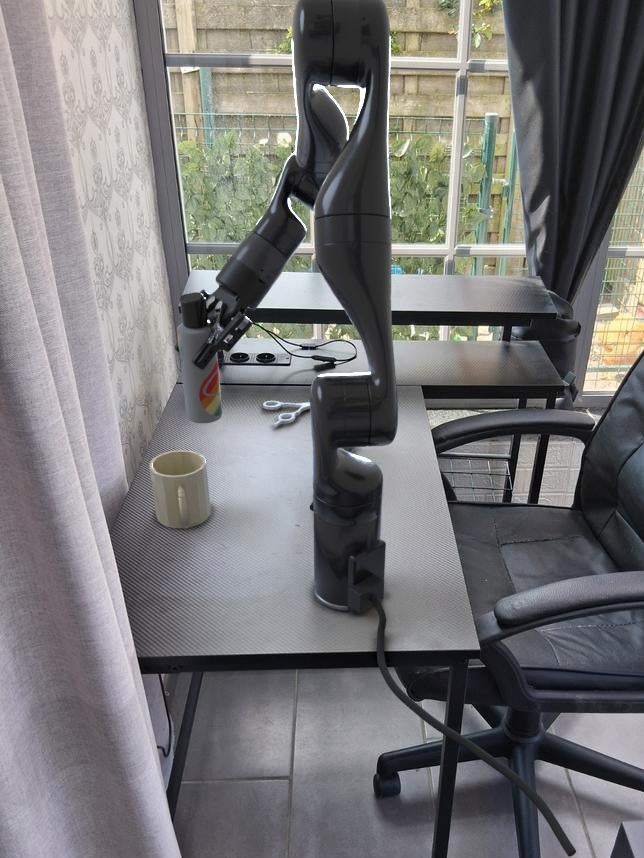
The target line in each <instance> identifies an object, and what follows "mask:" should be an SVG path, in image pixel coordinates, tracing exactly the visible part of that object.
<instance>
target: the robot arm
mask: <svg viewBox="0 0 644 858" xmlns="http://www.w3.org/2000/svg"><path fill="white" fill-rule="evenodd" d="M291 27H292V28H291V56H292V71H293V74H292V75H293V88H294V89H293V90H294V99H295V100H294V101H295V107H296V116H297V117H296V118H297V130H296V140H295V151H294V152H293V153H291V155H290V156H289V157H288V158H287V160H286V161H285V164H284V166H283V168H282V171H281V174H280V176H279V181H278V183H277V186H276V189H275V192H274V193H273V196H272V198H271V200H270V203H269V204H268V206H267V208H266V210H265V211H264V213H263V214H262V216H261V217H260V219H258V221H257V223H256V224H255V226H254V227H253V228H252V229H251V231H250V232H249V233H248V235H246V237H244V238H243V240H242V241H241V242H240V243H239V245H238V246H237V247H236V249H235V250H234V251H233V253H232V254H231V256H230V257H229V258H228V260H226V263H225V264H224V265H223V267H222V268H221V270H220V271H219V272H218V274H217V275H216V276H215V283H216V284H217V285H218V288H216V290H214V292H212V293H209V292H208V291H207V290H206V289H202V290H200V291H199V293H202V294H203V297H205V298H206V305H207V316H208V322H209V323H211V324H210V329H211V332H210V334H209V336H208V339H207V343H208V344H207V343H204V344H203V345H202V347H201V348H200V350H199V351H198V352H197V354H196V355H195V356H194V358H193V359H192V363H193V364H194V365H195V366H197V367H198V368H200V369H201V370H203V369H205V367H206V366H207V365H208V364H209V362H210V361H211V360H212V358H213V357H214V355H215V354H216V353H217V354H218V352H219V353H220V352H222V351H225V352H226V353H229V352H230V351H231V350H232V349H233V348H234V347H235V346H236V344H237V343H238V342H239V341H240V340H241V339H242V337H243V336H245V334H246V333H247V332H248V331H249V330H250V328H251V327H252V326H253V321H252V320H250V318H248V317H247V315H246V313H247V310H248V309H250V310H252V311H254V310H256V309H257V308H258V307H259V305H260V304H261V302H262V301H264V299H265V297H266V296H267V295H268V293H269V292H270V291H271V289H272V287H273V286H275V284H276V282H277V280H278V279H279V278H280V277H281V275H282V273H283V272H284V270H285V268H286V266H287V264H288V263H289V262H290V260H291V258H293V256H294V254H296V252H297V250H298V249H299V247H300V246H301V245H302V243H303V242H304V241H305V239H306V237H307V234H308V233H307V232H308V231H307V228H306V225H305V224H304V223H303V221H302V220H301V219H300V218H299V217H298V215H297V214H296V213H295V212H294V211H293V209H292V207H291V205H292V201H293V199H296V200H297V201H299V202H300V203H301V204H302V205H304V206H305V207H306V208H308V209H309V210H310V211H312V212H313V221H314V222H313V229H314V232H313V233H314V251H315V252H314V253H315V256H314V257H315V261H316V265H317V268H318V270H319V272H320V275H321V276H322V278H323V281H324V283H326V286H327V287H328V288H329V290H330V291H331V292H332V294H333V296H334V298H335V299H336V300H337V302H338V303H339V305H340V306H341V307H342V309H343V311H344V312H345V314H346V315H347V316H348V318H349V320H350V321H351V323H352V326H353V327H354V329H355V331H356V332H357V335H358V336H359V339H360V341H361V343H362V346H363V349H364V353H365V355H366V360H367V365H368V372H340V373H339V372H337V373H336V372H335V373H322V374H321V373H320V374H318V375H316V376H315V378H314V379H313V380H312V383H311V385H310V391H309V402H310V408H309V417H310V428H311V429H310V430H311V441H312V472H313V473H312V489H313V490H312V497H313V500H312V502H313V511H312V512H313V514H312V515H313V570H314V571H313V579H314V580H313V581H314V582H313V595H314V597H315V599H316V600H317V601H318V602H319V603H320V604H321V605H322V606H324V607H326V608H329V609H331V610H335V611H340V612H348V613H350V614H351V615H356V614H357V613H359V614H361V613H363V612H364V611H366V610H367V609H369V608H370V607H372V606H373V607H374V609H375V611H376V613H377V616H378V625H377V629H376V630H377V632H376V662H377V666H378V669H379V671H380V673H381V675H382V678H383V680H384V682H385V683H386V685H387V687H388V688H389V690H390V691H391V692H392V693H393V694H394V696H396V698H397V699H398V700H400V701H401V702H402V703H403V704H404V705H405V706H406V707H407V708H408V709H409V710H411V711H412V712H413V713H414V714H415V715H417V716H418V717H419V718H420V719H421V720H423V721H424V722H425V723H427V724H428V725H429V726H430V727H432V728H433V729H435V730H436V731H438V732H439V733H440V734H442V735H444V736H445V737H446V738H449V739H450V740H452V741H453V742H455V743H456V744H458V745H460V746H461V747H463V748H465V749H466V750H467V751H469V752H470V753H471V754H473V755H475V756H476V757H477V758H478V759H480V760H481V761H483V762H484V763H485V764H487V765H488V766H490V767H491V768H492V769H494V770H496V771H497V772H498V773H500V774H501V775H502V776H504V777H505V778H506V779H508V780H509V781H511V783H512V784H514V785H515V787H517V788H518V789H519V790H520V791H522V793H523V794H524V795H525V796H526V797H527V798H528V799H529V800H530V801H531V802H532V803H533V805H534V806H535V807H536V808H537V809H538V811H539V812H540V813H541V815H542V816H543V818H544V819H545V821H546V822H547V824H548V826H549V827H550V829H551V831H552V833H553V834H554V836H555V838H556V840H557V841H558V843H559V844H560V846H561V847H562V849H563V851H564V852H565V854H566V855H567V857H568V858H571V857H573V856H574V855H576V853H577V849H576V848H575V846H574V845H573V844H572V842H571V841H570V839H569V837H568V836H567V834H566V832H565V831H564V829H563V827H562V826H561V824H560V822H559V821H558V819H557V818H556V816H555V815H554V812H553V811H552V810H551V809H550V807H549V806H548V804H547V803H546V802H545V801H544V799H543V798H542V797H541V796H540V795H539V794H538V793H537V791H536V790H534V788H533V787H532V786H531V785H530V784H529V783H528V782H527V781H526V780H524V778H522V777H521V776H520V775H518V773H516V772H515V771H513V770H512V769H511V768H510V767H508V766H507V765H506V764H504V763H502V761H500V760H499V759H497V758H496V757H494V756H493V755H491V754H490V753H489V752H487V751H486V750H484V749H483V748H482V747H480V746H479V745H477V744H475V743H474V742H473V741H471V740H470V739H469V738H467V737H465V736H464V735H462V734H461V733H459V732H458V731H456V730H454V729H452V728H451V727H449V726H447V725H446V724H444V723H443V722H441V721H440V720H438V719H437V718H435V717H434V716H433V715H432V714H430V713H429V712H428V711H427V710H426V709H424V708H423V707H422V706H420V705H419V704H418V703H417V702H415V701H414V700H413V699H412V698H411V697H410V696H409V695H408V694H406V692H405V691H403V690H402V689H401V687H400V686H399V685H398V684H397V683H396V681H395V680H394V678H393V677H392V675H391V673H390V671H389V669H388V665H387V663H386V657H385V638H386V635H385V632H386V628H387V615H386V611H385V609H384V607H383V604H382V603H381V602H380V601H381V600H383V599H384V598H385V569H386V554H387V553H386V552H387V543H386V541H385V540H383V539H381V537H382V536H381V533H382V513H383V512H382V511H383V489H384V488H383V487H384V475H383V471H382V469H381V468H380V466H379V465H378V464H377V462H375V461H373V460H371V459H370V458H368V457H365V456H363V455H360V454H357V453H353V452H352V453H350V452H348V451H346V450H344V449H342V448H349V447H355V448H366V447H368V448H370V447H385V446H389V445H391V444H392V443H393V442H394V440H395V439H396V436H397V432H398V425H399V402H398V386H397V375H396V361H395V348H394V347H395V346H394V336H393V322H392V321H393V319H392V261H393V260H392V259H393V258H392V255H393V254H392V252H393V251H392V249H393V247H392V246H393V245H392V244H393V243H392V212H391V211H392V210H391V193H390V170H389V168H390V167H389V106H390V105H389V103H390V78H391V77H390V75H391V25H390V16H389V11H388V8H387V5H386V3H385V1H384V0H297V1H296V3H295V7H294V10H293V16H292V26H291ZM325 87H335V88H337V87H342V88H359V90H360V102H359V108H358V112H357V116H356V119H355V121H354V123H353V126H352V128H351V131H350V132H349V125H348V121H347V118H346V116H345V113H344V112H343V110H342V108H341V107H340V105H339V104H338V103H337V101H336V100H335V99H334V98H333V96H332V95H331V94H330V93H329V91H328V90H327V89H326V88H325ZM228 339H229V340H228ZM227 340H228V341H227ZM174 350H175V351H176V352H177V353H179V345H178V341H177V342H176V344H175V345H174Z"/></svg>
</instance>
